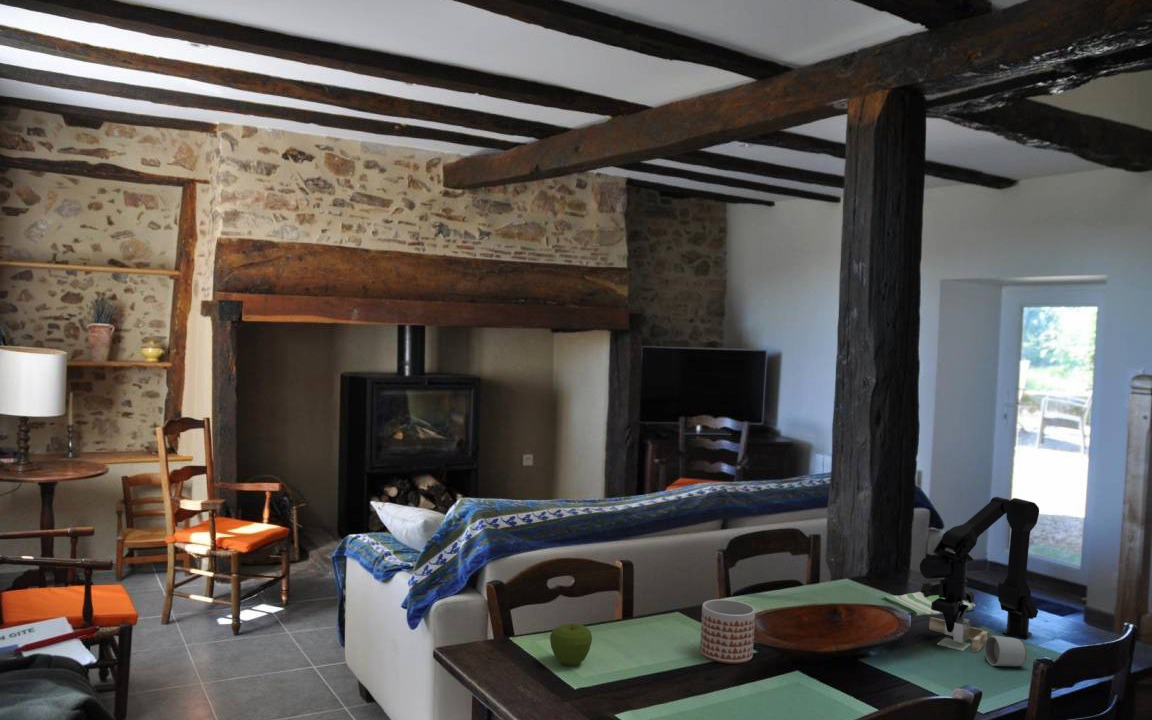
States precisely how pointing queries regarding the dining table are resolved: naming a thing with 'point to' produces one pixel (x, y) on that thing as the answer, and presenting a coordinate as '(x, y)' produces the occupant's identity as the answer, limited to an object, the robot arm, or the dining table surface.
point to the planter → (727, 631)
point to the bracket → (960, 630)
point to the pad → (953, 644)
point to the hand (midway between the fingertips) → (951, 630)
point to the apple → (571, 643)
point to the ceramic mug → (1005, 651)
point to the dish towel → (919, 603)
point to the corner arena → (975, 634)
